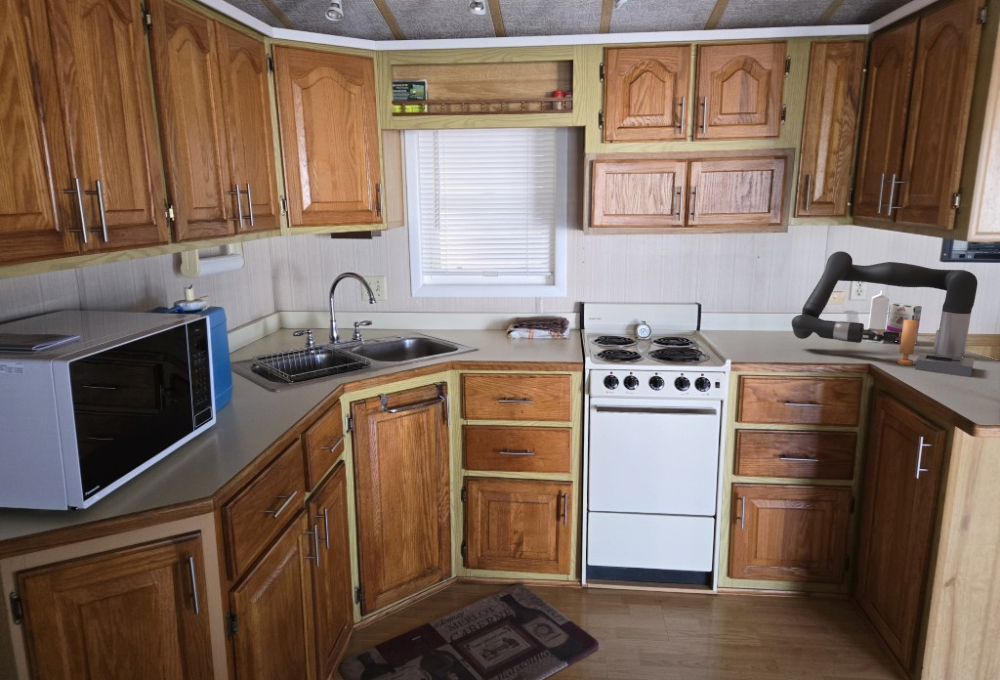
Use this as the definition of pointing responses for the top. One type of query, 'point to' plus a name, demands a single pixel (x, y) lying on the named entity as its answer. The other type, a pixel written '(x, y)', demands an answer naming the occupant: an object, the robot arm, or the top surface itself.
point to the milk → (878, 313)
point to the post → (907, 341)
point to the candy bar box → (902, 317)
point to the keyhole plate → (944, 364)
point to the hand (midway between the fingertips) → (897, 337)
